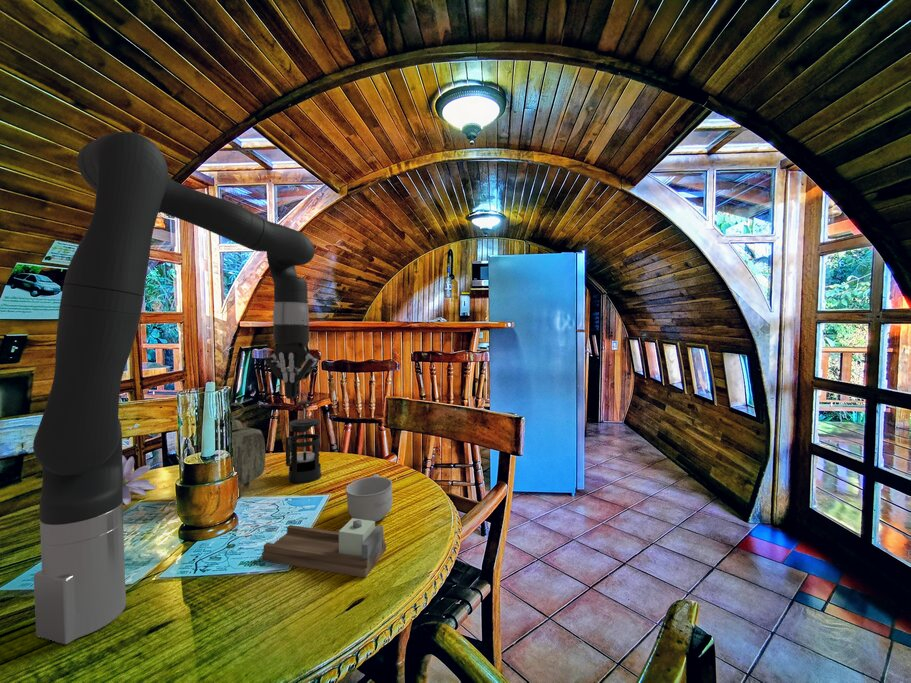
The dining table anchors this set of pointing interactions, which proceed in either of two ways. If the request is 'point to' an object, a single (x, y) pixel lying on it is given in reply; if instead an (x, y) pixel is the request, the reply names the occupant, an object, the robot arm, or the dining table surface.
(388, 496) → the teacup
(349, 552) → the slider
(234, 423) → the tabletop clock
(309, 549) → the track
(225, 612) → the dining table surface
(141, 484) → the water lily
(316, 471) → the french press
